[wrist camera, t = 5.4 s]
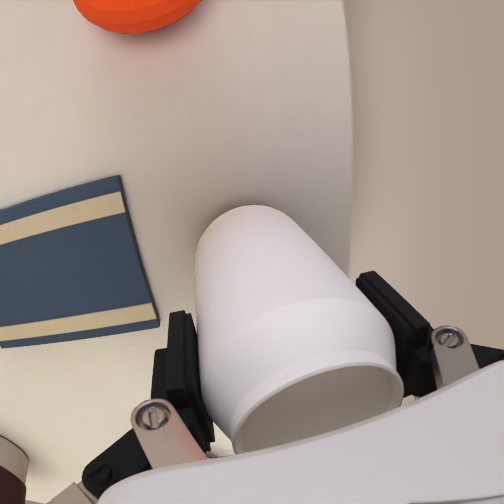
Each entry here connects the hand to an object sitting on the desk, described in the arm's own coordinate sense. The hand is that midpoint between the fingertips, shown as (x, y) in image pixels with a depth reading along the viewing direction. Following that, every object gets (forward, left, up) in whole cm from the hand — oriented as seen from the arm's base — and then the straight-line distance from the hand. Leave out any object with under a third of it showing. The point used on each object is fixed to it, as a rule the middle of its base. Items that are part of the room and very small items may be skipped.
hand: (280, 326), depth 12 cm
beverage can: (0, 0, -7) cm, 7 cm away
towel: (+13, 0, -9) cm, 16 cm away
